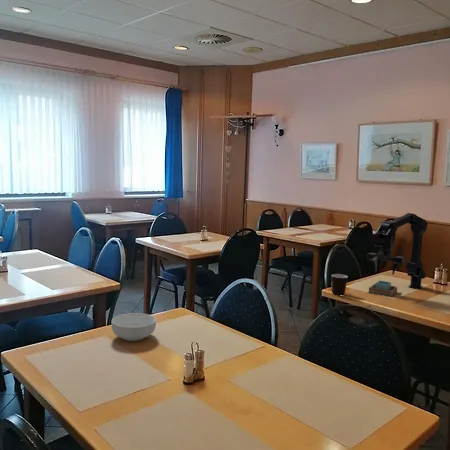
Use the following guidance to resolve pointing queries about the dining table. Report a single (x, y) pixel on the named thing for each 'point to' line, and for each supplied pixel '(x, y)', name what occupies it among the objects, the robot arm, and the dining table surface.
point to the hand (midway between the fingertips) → (384, 273)
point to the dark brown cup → (338, 284)
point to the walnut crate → (381, 291)
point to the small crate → (383, 285)
